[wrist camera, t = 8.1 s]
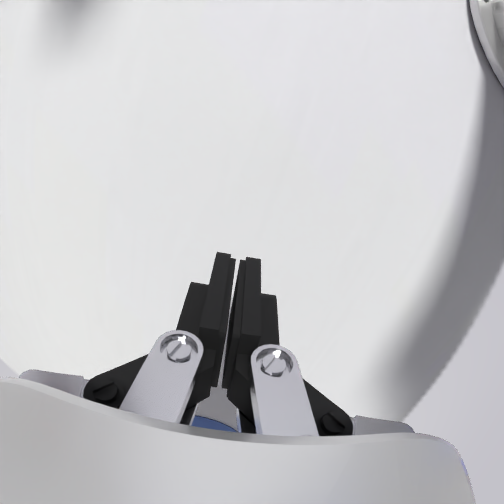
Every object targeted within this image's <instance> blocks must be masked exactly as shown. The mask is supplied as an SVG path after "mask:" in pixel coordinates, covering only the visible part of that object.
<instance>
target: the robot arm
mask: <svg viewBox="0 0 504 504" xmlns="http://www.w3.org/2000/svg"><path fill="white" fill-rule="evenodd" d="M469 1H470V8H471V13H472V17H473V21H474V25H475V28H476V31H477V34H478V37H479V40H480V42H481V45H482V47H483V50H484V52H485V54H486V57H487V59H488V61H489V63H490V65H491V67H492V69H493V71H494V73H495V74H496V76H497V78H498V79H499V81H500V83H501V85H502V86H503V88H504V0H469ZM230 257H231V254H226V253H220V252H217V254H216V258H215V262H214V266H213V270H212V274H211V278H210V283H209V285H206V284H200V283H194V282H191V284H190V286H189V290H188V293H187V296H186V299H185V302H184V306H183V309H182V312H181V315H180V319H179V322H178V325H177V328H176V330H173V331H169V332H166V333H164V334H163V335H161V336H160V337H159V338H158V339H157V340H156V342H155V344H154V346H153V348H152V349H151V351H150V353H149V354H147V355H145V356H143V357H141V358H138V359H136V360H134V361H131V362H129V363H126V364H124V365H122V366H119V367H117V368H115V369H112V370H110V371H107V372H105V373H102V374H100V375H97V376H95V377H94V378H92V379H90V380H87V379H84V378H83V376H76V375H68V374H60V373H53V372H47V371H41V370H28V371H25V372H23V373H22V374H21V375H20V376H19V378H12V377H0V504H476V503H475V499H474V494H473V490H472V486H471V483H470V479H469V476H468V473H467V470H466V468H465V465H464V462H463V460H462V458H461V456H460V454H459V452H458V450H457V449H456V448H455V447H454V446H453V445H452V444H451V443H449V442H448V441H446V440H444V439H441V438H439V437H435V436H431V435H426V434H421V433H415V432H414V431H413V429H412V428H411V427H410V426H409V425H407V424H405V423H402V422H395V421H387V420H381V419H374V418H368V417H362V416H357V415H356V416H355V417H354V418H352V417H349V416H348V415H347V414H346V413H345V412H344V411H343V410H342V409H341V408H339V407H338V406H337V405H335V404H334V403H333V402H332V401H330V400H329V399H328V398H326V397H325V396H324V395H323V394H321V393H320V392H319V391H318V390H316V389H315V388H314V387H313V386H311V385H310V384H309V383H308V382H306V381H305V380H304V379H303V378H302V375H301V372H300V368H299V365H298V361H297V359H296V357H295V356H294V355H293V353H292V352H291V351H289V350H288V349H286V348H285V347H282V346H279V330H278V314H277V299H276V296H275V295H269V294H262V293H261V259H256V258H250V257H246V261H245V260H240V264H239V269H238V275H237V280H236V286H235V291H234V296H233V302H232V307H231V313H230V320H229V328H228V337H227V345H226V354H225V363H224V372H223V381H222V388H226V389H227V397H228V399H229V400H230V401H231V402H232V403H233V404H234V405H235V406H236V418H237V427H238V432H230V431H222V430H214V429H207V428H201V427H195V426H191V425H192V422H193V419H194V416H195V414H196V411H197V408H198V403H199V402H200V401H202V400H204V399H205V398H207V397H209V396H210V389H211V386H212V387H217V384H218V378H219V373H220V367H221V361H222V355H223V350H224V344H225V338H226V332H227V325H228V317H229V309H230V301H231V293H232V285H233V278H234V270H235V262H236V259H233V258H230Z"/></svg>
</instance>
